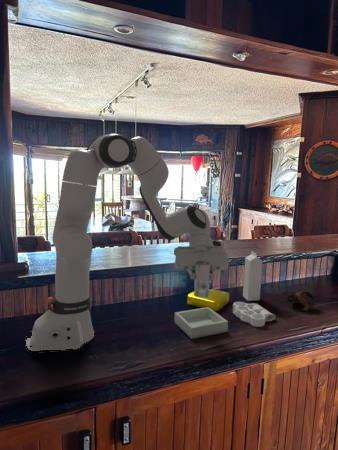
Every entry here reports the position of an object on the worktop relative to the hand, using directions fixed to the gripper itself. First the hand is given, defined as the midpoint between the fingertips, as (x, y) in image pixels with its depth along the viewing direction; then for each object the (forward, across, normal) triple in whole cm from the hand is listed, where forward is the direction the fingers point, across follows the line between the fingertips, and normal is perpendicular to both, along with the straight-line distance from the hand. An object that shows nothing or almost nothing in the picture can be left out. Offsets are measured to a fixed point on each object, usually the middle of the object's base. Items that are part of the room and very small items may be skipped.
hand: (202, 278), depth 122 cm
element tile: (-4, +6, +32) cm, 33 cm away
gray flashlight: (+4, 0, +5) cm, 6 cm away
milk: (-8, +27, +36) cm, 46 cm away
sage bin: (+13, 0, +14) cm, 19 cm away
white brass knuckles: (+6, +22, +22) cm, 32 cm away
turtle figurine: (-2, +46, +29) cm, 55 cm away
